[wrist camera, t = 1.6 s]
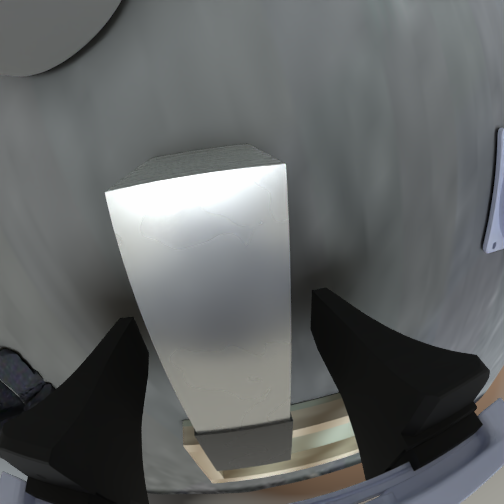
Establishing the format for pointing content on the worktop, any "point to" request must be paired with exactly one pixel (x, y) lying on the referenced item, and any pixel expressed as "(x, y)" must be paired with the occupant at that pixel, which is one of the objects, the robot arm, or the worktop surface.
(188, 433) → the beige rectangular tray
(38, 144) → the worktop surface
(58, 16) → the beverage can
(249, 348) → the grey rectangular block
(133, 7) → the worktop surface
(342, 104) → the worktop surface
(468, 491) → the robot arm
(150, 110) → the worktop surface
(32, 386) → the dark slate chunk
